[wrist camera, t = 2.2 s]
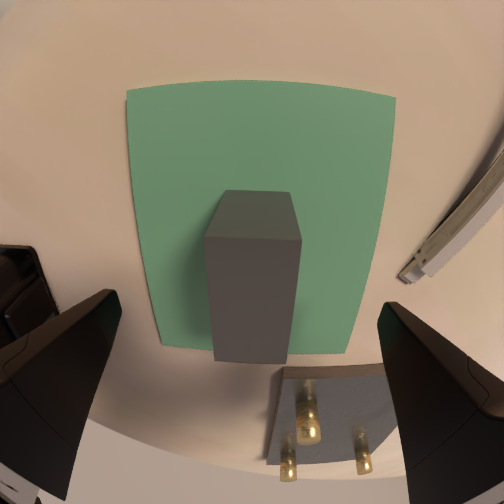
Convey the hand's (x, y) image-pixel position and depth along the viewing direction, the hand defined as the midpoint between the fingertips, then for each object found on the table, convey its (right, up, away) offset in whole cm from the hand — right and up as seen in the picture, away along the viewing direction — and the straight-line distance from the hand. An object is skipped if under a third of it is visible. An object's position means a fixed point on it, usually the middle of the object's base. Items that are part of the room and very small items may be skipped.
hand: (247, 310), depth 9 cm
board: (0, +3, +5) cm, 6 cm away
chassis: (+8, -14, +13) cm, 20 cm away
